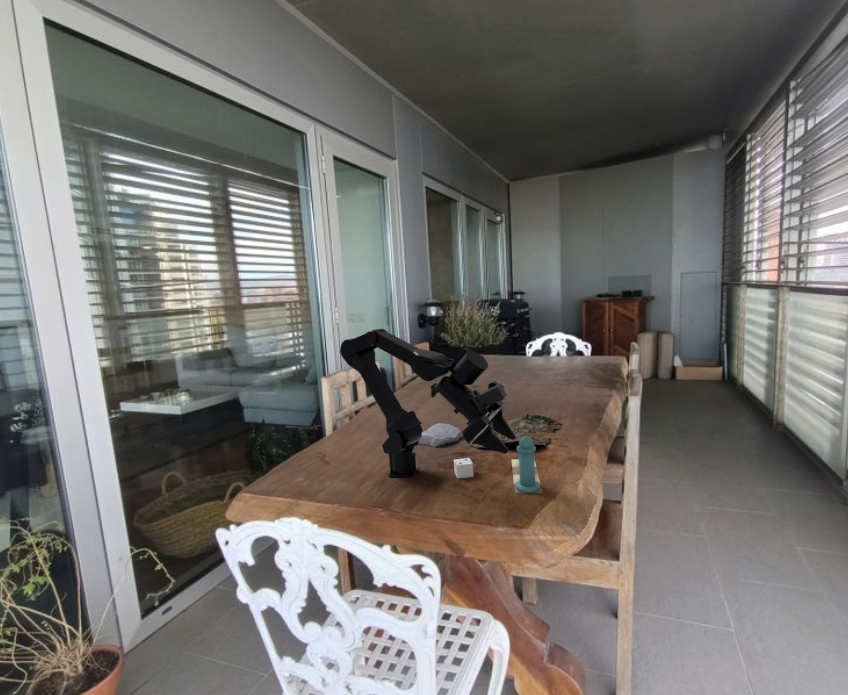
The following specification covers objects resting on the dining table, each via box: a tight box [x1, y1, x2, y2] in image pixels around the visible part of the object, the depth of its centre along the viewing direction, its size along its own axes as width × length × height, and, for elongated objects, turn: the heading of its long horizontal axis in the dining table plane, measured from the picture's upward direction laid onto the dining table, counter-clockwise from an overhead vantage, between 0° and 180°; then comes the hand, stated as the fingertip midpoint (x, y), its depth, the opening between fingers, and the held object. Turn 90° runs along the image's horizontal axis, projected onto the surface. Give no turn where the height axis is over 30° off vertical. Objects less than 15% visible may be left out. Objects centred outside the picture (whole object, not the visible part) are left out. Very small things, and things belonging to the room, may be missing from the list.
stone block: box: [418, 422, 462, 448], centre depth 144 cm, size 12×5×10 cm
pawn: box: [516, 436, 540, 494], centre depth 105 cm, size 5×5×12 cm
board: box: [511, 458, 543, 494], centre depth 113 cm, size 6×20×1 cm, turn 172°
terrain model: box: [473, 413, 563, 449], centre depth 145 cm, size 31×25×5 cm
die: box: [453, 457, 474, 479], centre depth 116 cm, size 4×4×4 cm
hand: (511, 445), depth 106 cm, fingers open, 9 cm apart
